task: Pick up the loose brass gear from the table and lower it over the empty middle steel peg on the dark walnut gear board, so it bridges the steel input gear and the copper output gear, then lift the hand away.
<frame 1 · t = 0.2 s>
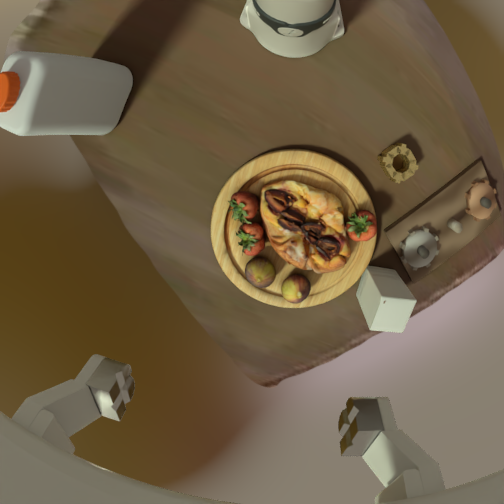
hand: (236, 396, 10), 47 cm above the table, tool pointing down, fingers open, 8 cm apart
brass gear: (395, 161, 49), on the table
supplement box: (375, 281, 59), on the table
gear board: (447, 220, 52), on the table
plastic bottle: (100, 96, 50), on the table
wooden plate with food: (294, 231, 57), on the table
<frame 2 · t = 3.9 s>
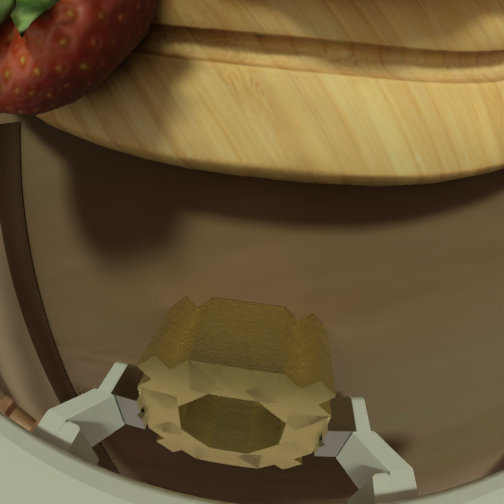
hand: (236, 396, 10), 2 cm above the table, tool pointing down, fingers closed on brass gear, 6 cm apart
brass gear: (242, 364, 11), on the table, touching gripper
when the fingers open (4 cm above the table, at t = 9.7 s): brass gear drops 1 cm, resting on gear board.
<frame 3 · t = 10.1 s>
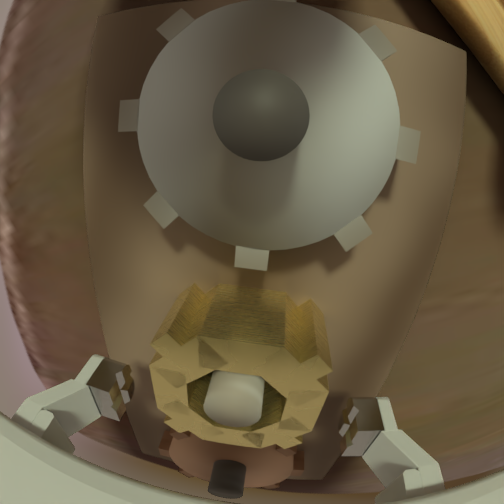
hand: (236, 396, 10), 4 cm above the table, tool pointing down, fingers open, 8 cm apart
brass gear: (245, 347, 12), point 1 cm above the table, touching gear board
gear board: (248, 327, 14), on the table
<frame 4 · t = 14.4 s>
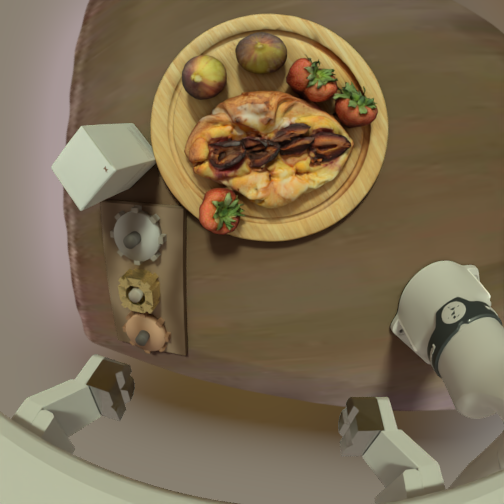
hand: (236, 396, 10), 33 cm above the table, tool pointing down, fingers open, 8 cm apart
brass gear: (143, 286, 46), point 1 cm above the table, touching gear board
supplement box: (131, 156, 40), on the table
gear board: (146, 281, 48), on the table
wooden plate with food: (269, 124, 37), on the table
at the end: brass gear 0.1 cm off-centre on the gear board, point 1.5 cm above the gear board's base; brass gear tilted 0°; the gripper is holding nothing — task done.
